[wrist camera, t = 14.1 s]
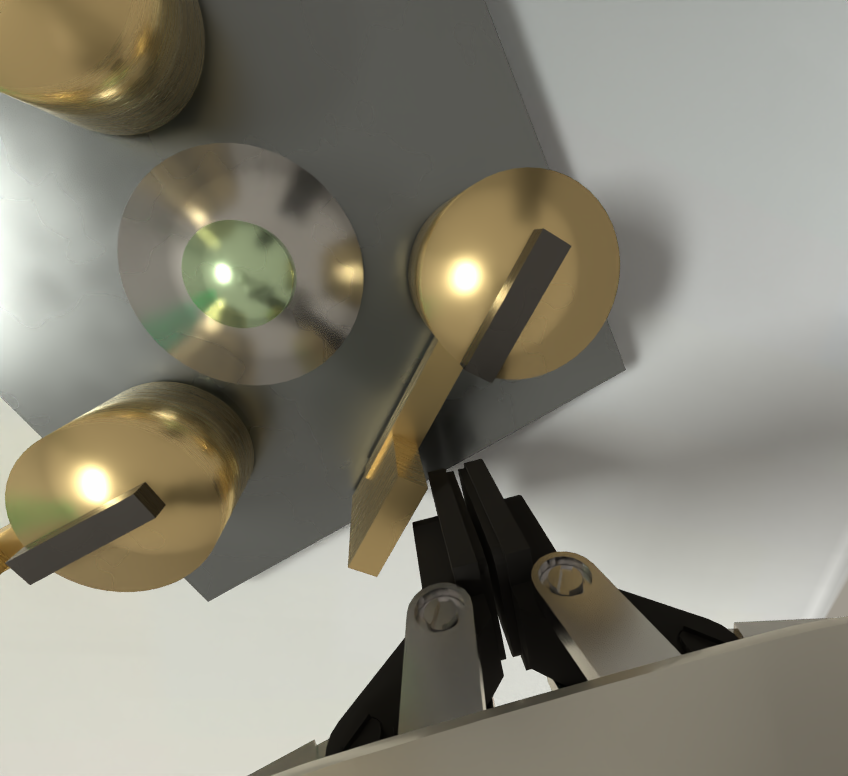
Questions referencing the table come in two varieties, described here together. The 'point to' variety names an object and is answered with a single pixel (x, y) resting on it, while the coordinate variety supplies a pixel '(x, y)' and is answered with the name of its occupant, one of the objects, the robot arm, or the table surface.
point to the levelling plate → (373, 154)
